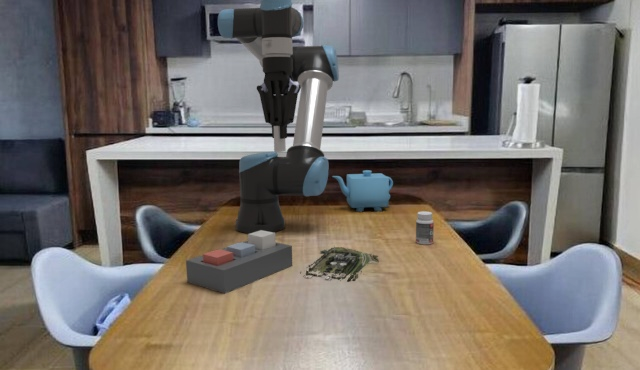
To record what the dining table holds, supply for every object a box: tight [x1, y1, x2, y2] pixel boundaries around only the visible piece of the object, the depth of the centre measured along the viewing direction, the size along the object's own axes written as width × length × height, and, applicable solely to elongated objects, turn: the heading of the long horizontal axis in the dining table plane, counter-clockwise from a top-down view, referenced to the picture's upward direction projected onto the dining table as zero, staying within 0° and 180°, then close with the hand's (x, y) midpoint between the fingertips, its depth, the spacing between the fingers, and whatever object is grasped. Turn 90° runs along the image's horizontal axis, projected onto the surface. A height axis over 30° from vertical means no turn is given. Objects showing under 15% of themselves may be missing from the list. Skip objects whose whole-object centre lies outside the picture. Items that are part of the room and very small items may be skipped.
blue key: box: [226, 241, 255, 258], centre depth 123 cm, size 5×5×4 cm
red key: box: [202, 248, 233, 266], centre depth 117 cm, size 5×5×4 cm
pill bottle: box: [415, 211, 435, 246], centre depth 146 cm, size 5×5×8 cm
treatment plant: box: [298, 246, 380, 282], centre depth 129 cm, size 25×18×4 cm
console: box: [185, 240, 293, 294], centre depth 123 cm, size 12×22×5 cm, turn 143°
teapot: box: [331, 169, 394, 213], centre depth 190 cm, size 22×11×14 cm, turn 96°
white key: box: [247, 230, 277, 250], centre depth 128 cm, size 5×5×4 cm
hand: (279, 151), depth 137 cm, fingers closed
